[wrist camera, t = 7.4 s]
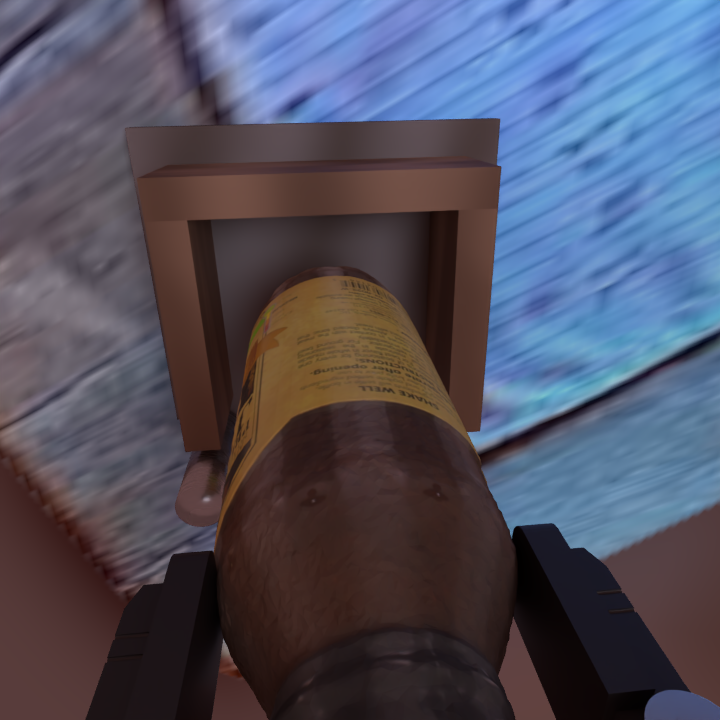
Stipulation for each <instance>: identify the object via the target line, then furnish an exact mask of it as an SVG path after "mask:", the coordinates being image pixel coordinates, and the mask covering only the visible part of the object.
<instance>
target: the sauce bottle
mask: <svg viewBox="0 0 720 720" xmlns="http://www.w3.org/2000/svg"><path fill="white" fill-rule="evenodd" d="M214 556H215V562H216V568H217V582H216V588H217V602H218V608H219V617H220V627H221V631H222V635H223V638H224V640H225V643H226V645H227V647H228V649H229V652H230V655H231V657H232V659H233V661H234V663H235V665H236V666H237V668H238V669H239V671H240V673H241V674H242V676H243V677H244V679H245V680H246V681H247V683H248V684H249V686H250V688H251V689H252V690H253V692H254V694H255V696H256V698H257V700H258V702H259V703H260V705H261V707H262V708H263V710H264V711H265V712H266V714H267V718H268V719H269V720H515V716H514V712H513V709H512V706H511V704H510V702H509V701H508V699H507V696H506V693H505V690H504V688H503V686H502V684H501V682H500V679H499V677H498V674H499V671H500V668H501V665H502V662H503V659H504V656H505V653H506V646H507V643H508V641H509V632H510V627H511V624H512V619H513V615H514V609H515V603H516V596H517V586H518V561H517V555H516V547H515V545H514V543H513V541H512V539H511V536H510V531H509V529H508V527H507V524H506V522H505V520H504V518H503V515H502V512H501V511H500V510H499V509H498V506H497V503H496V501H495V500H494V498H493V495H492V494H491V492H490V491H489V489H488V486H487V481H486V479H485V476H484V474H483V471H482V470H481V461H480V458H479V456H478V454H477V452H476V450H475V448H474V446H473V444H472V442H471V439H470V437H469V435H468V433H467V431H466V429H465V427H464V425H463V423H462V421H461V419H460V417H459V415H458V413H457V411H456V409H455V407H454V405H453V403H452V401H451V399H450V397H449V395H448V393H447V391H446V389H445V387H444V385H443V383H442V381H441V379H440V377H439V375H438V373H437V371H436V369H435V367H434V365H433V363H432V361H431V359H430V357H429V355H428V352H427V350H426V348H425V346H424V344H423V342H422V340H421V338H420V336H419V334H418V332H417V330H416V328H415V326H414V325H413V323H412V321H411V319H410V317H409V316H408V314H407V312H406V310H405V309H404V308H403V306H402V305H401V304H400V302H399V301H398V300H397V299H396V298H395V297H394V296H393V295H392V293H391V292H390V291H389V290H388V289H387V288H386V287H385V286H384V285H383V284H382V283H381V282H379V281H378V280H376V279H375V278H374V277H372V276H370V275H369V274H368V273H366V272H364V271H362V270H360V269H357V268H352V267H348V266H339V267H315V268H311V269H308V270H305V271H303V272H301V273H299V274H298V275H296V276H294V277H291V278H289V279H287V280H286V281H285V282H284V283H282V284H281V285H280V286H279V287H278V288H277V289H276V290H275V291H274V293H273V295H272V297H271V298H270V299H269V301H268V302H267V303H266V304H265V305H264V307H263V309H262V310H261V312H260V314H259V318H258V320H257V322H256V324H255V326H254V328H253V330H252V334H251V338H250V343H249V348H248V353H247V359H246V365H245V372H244V378H243V385H242V392H241V397H240V402H239V406H238V410H237V418H236V424H235V428H234V436H233V440H232V445H231V454H230V458H229V463H228V466H227V475H226V481H225V484H224V489H223V494H222V505H221V511H220V516H219V521H218V525H217V533H216V540H215V547H214Z"/></svg>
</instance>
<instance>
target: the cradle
mask: <svg viewBox="0 0 720 720" xmlns="http://www.w3.org/2000/svg"><path fill="white" fill-rule="evenodd" d="M499 128H500V119H496V118H487V119H446V120H406V121H365V122H324V123H284V124H243V125H203V126H162V127H129V128H125V131H126V136H127V142H128V148H129V153H130V159H131V164H132V170H133V175H134V181H135V186H136V192H137V197H138V203H139V208H140V214H141V220H142V225H143V231H144V236H145V242H146V247H147V253H148V258H149V264H150V269H151V275H152V281H153V286H154V292H155V297H156V303H157V308H158V314H159V319H160V325H161V330H162V336H163V341H164V347H165V353H166V358H167V364H168V369H169V375H170V380H171V386H172V391H173V397H174V402H175V408H176V413H177V419H180V424H181V430H182V435H183V441H184V446H185V452H191V451H205V450H219V449H221V446H222V442H223V438H224V433H225V429H226V425H227V421H228V416H229V412H230V411H231V412H233V413H234V414H235V415H236V416H237V410H238V406H239V402H240V397H241V392H242V385H243V378H244V372H245V365H246V359H247V353H248V348H249V343H250V338H251V334H252V330H253V328H254V326H255V324H256V322H257V320H258V318H259V314H260V312H261V310H262V309H263V307H264V305H265V304H266V303H267V302H268V301H269V299H270V298H271V297H272V295H273V293H274V291H275V290H276V289H277V288H278V287H279V286H280V285H281V284H282V283H284V282H285V281H286V280H287V279H289V278H291V277H294V276H296V275H298V274H299V273H301V272H303V271H305V270H308V269H311V268H315V267H339V266H348V267H352V268H357V269H360V270H362V271H364V272H366V273H368V274H369V275H370V276H372V277H374V278H375V279H376V280H378V281H379V282H381V283H382V284H383V285H384V286H385V287H386V288H387V289H388V290H389V291H390V292H391V293H392V295H393V296H394V297H395V298H396V299H397V300H398V301H399V302H400V304H401V305H402V306H403V308H404V309H405V310H406V312H407V314H408V316H409V317H410V319H411V321H412V323H413V325H414V326H415V328H416V330H417V332H418V334H419V336H420V338H421V340H422V342H423V344H424V346H425V348H426V350H427V352H428V355H429V357H430V359H431V361H432V363H433V365H434V367H435V369H436V371H437V373H438V375H439V377H440V379H441V381H442V383H443V385H444V387H445V389H446V391H447V393H448V395H449V397H450V399H451V401H452V403H453V405H454V407H455V409H456V411H457V413H458V415H459V417H460V419H461V421H462V423H463V425H464V427H465V429H466V431H467V432H475V431H480V425H481V412H482V400H483V387H484V375H485V362H486V350H487V337H488V325H489V312H490V300H491V288H492V275H493V263H494V250H495V238H496V225H497V213H498V200H499V188H500V175H501V166H497V154H498V141H499Z"/></svg>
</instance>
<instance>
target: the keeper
mask: <svg viewBox="0 0 720 720" xmlns="http://www.w3.org/2000/svg"><path fill="white" fill-rule="evenodd" d="M236 418H237V416H236V415H235V414H234V413H233V412H231V411H230V412H229V416H228V421H227V425H226V429H225V433H224V438H223V442H222V446H221V449H219V450H205V451H192V452H191V456H190V459H189V462H188V465H187V468H186V471H185V475H184V478H183V481H182V484H181V487H180V490H179V493H178V497H177V500H176V503H175V510H176V513H177V515H178V516H179V518H180V519H181V520H183V521H184V522H185V523H187V524H189V525H192V526H197V527H205V526H210V525H212V524H215V523H216V522H218V521H219V516H220V511H221V505H222V494H223V489H224V484H225V481H226V475H227V466H228V463H229V458H230V454H231V445H232V440H233V436H234V428H235V424H236Z"/></svg>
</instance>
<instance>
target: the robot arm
mask: <svg viewBox="0 0 720 720" xmlns="http://www.w3.org/2000/svg"><path fill="white" fill-rule="evenodd" d="M512 541H513V543H514V545H515V547H516V555H517V561H518V586H517V596H516V603H515V609H514V615H513V617H514V619H515V622H516V624H517V627H518V629H519V631H520V634H521V636H522V639H523V641H524V643H525V646H526V648H527V651H528V653H529V655H530V658H531V660H532V663H533V665H534V667H535V670H536V672H537V675H538V677H539V679H540V682H541V684H542V687H543V689H544V691H545V694H546V696H547V699H548V701H549V703H550V706H551V708H552V711H553V713H554V715H555V718H556V720H720V708H719V707H718V706H717V705H715V704H713V703H712V702H710V701H708V700H707V699H705V698H703V697H701V696H699V695H696V694H693V693H691V692H690V691H689V689H688V688H687V686H686V685H685V684H684V682H683V681H682V679H681V678H680V676H679V675H678V673H677V672H676V670H675V669H674V667H673V666H672V664H671V663H670V661H669V660H668V658H667V657H666V655H665V654H664V652H663V651H662V649H661V648H660V646H659V645H658V643H657V642H656V640H655V639H654V637H653V636H652V634H651V633H650V631H649V630H648V628H647V627H646V625H645V624H644V622H643V621H642V619H641V618H640V616H639V615H638V613H637V612H634V607H633V606H632V604H631V603H630V601H629V600H628V598H627V597H626V595H625V594H624V593H622V591H621V588H620V586H619V585H618V583H617V581H616V580H615V579H614V577H613V575H612V574H611V572H610V571H609V569H608V568H607V567H606V566H605V565H604V564H603V563H602V562H601V561H599V560H598V559H597V558H596V557H594V556H593V555H592V554H591V553H589V552H588V551H587V550H586V549H585V548H573V549H570V547H569V546H568V544H567V542H566V541H565V539H564V538H563V536H562V534H561V533H560V531H559V529H558V528H557V527H556V526H555V525H554V524H552V523H549V524H537V525H525V526H516V527H515V528H514V531H513V536H512ZM216 582H217V568H216V562H215V556H214V553H213V551H202V552H190V553H178V554H173V555H172V557H171V559H170V562H169V565H168V569H167V572H166V576H165V579H164V583H161V584H150V585H143V587H142V588H141V589H140V590H139V591H138V593H137V594H136V595H135V596H134V598H133V599H132V600H131V601H130V602H129V604H128V605H127V606H126V607H125V609H124V611H123V614H122V617H121V620H120V623H119V626H118V629H117V631H116V634H115V640H113V643H112V646H111V649H110V651H109V654H108V657H107V658H108V660H107V663H105V666H104V669H103V671H102V674H101V677H100V680H99V683H98V685H97V688H96V691H95V694H94V697H93V700H92V703H91V706H90V708H89V711H88V714H87V717H86V720H211V719H212V712H213V705H214V699H215V691H216V685H217V678H218V671H219V664H220V657H221V650H222V643H223V635H222V631H221V627H220V617H219V608H218V602H217V588H216Z"/></svg>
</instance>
